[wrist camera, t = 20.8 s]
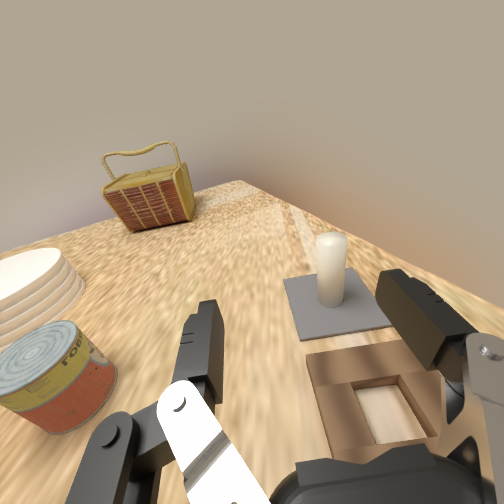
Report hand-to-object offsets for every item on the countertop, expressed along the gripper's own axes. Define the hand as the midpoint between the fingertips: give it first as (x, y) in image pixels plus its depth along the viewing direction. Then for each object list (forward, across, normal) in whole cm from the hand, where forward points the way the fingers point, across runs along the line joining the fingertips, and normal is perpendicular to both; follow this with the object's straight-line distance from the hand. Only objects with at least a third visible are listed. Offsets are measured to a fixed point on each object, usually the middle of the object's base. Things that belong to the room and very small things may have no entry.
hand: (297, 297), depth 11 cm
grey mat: (+23, -11, +27) cm, 37 cm away
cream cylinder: (+23, -11, +26) cm, 37 cm away
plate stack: (+38, +65, +29) cm, 81 cm away
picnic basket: (+86, +39, +29) cm, 98 cm away
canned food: (+13, +35, +28) cm, 46 cm away
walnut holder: (+3, -11, +27) cm, 29 cm away
